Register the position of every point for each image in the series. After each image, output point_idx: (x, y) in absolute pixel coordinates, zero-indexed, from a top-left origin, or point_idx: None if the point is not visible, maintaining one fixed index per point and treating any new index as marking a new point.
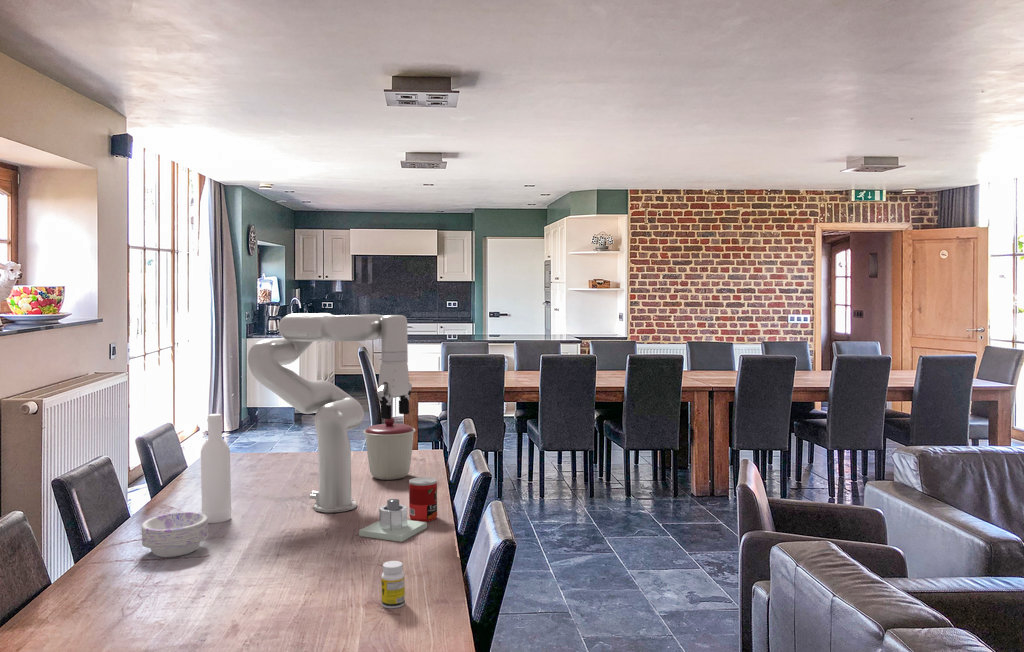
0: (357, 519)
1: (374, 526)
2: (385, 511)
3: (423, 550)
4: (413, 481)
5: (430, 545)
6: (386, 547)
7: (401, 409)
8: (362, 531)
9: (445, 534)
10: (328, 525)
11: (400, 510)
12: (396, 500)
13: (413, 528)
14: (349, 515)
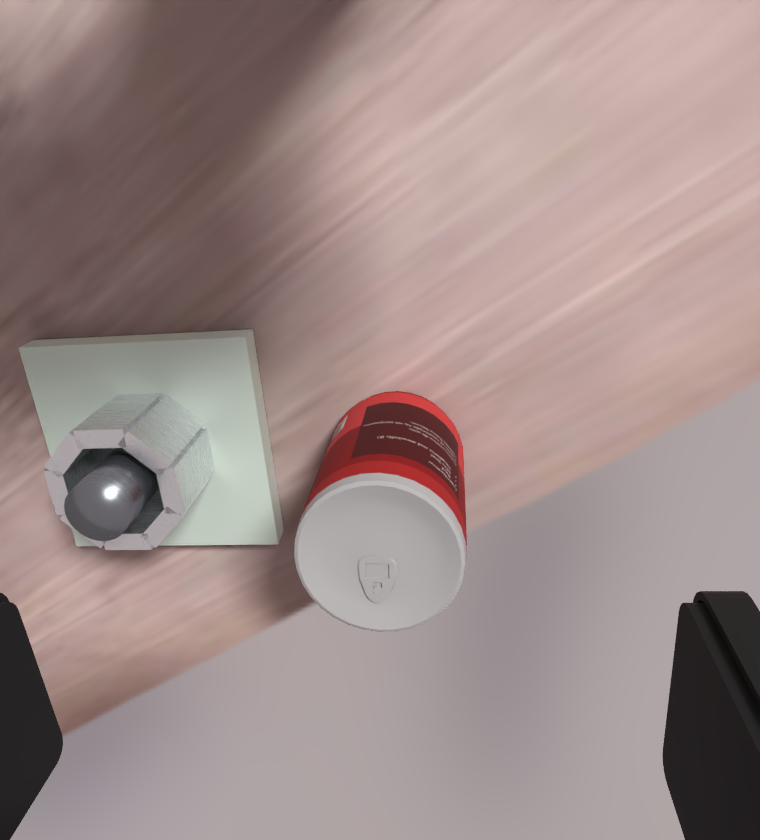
0: (218, 150)
1: (101, 375)
2: (49, 489)
3: (68, 636)
4: (347, 509)
5: (121, 633)
6: (8, 516)
7: (709, 727)
8: (25, 363)
9: (251, 625)
10: (49, 72)
11: (100, 545)
12: (104, 528)
13: (178, 538)
14: (253, 44)
